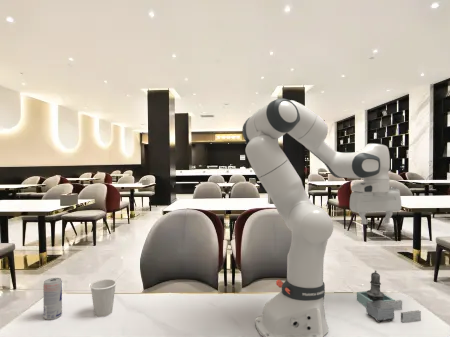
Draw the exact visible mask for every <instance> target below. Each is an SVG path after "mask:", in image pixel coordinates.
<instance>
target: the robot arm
mask: <svg viewBox="0 0 450 337" xmlns="http://www.w3.org/2000/svg"><path fill="white" fill-rule="evenodd" d="M328 131H329V126H328V124H327V123H326V121H325V120H324V119H323V118H322V117H321V116H320V115H319V114H317V113H316V112H314V111H313V110H312V109H310V108H309V107H308V106H305V105H304V104H302V103H300V102H297V101H296V100H292V99H291V100H290V99H287V98H277V99H274V100H272V101H271V102H269V103H268V104H266V105H264V106H263V107H261V108H260V109H258V110H257V111H255V112H254V113H253V114H252V115H251V116H250V117H248V118H247V119H246V120H245V122H244V123H243V125H242V136H243V139H244V141H245V144H246V147H245V155H246V158H247V159H248V162H249V164H250V166H251V168H252V171H253V172H254V173H255V175H256V177H257V178H258V180H259V182H260V183H261V186H262V187H263V188H264V190H265V192H266V193H267V194H268V196H269V198H270V199H271V201H272V203H273V205H274V207H275V209H276V212H278V215H279V216H280V218H281V219H282V221H283V223H284V224H285V226H286V228H288V230H289V231H291V232H290V233H291V239H290V240H291V241H290V246H289V251H288V253H287V256H286V257H287V258H286V260H287V261H286V267H287V268H286V271H287V272H286V279H285V281H284V282H283V281H282V280H281V279H277V280H276V283H275V285H276V286H277V287H278V288H281V291H280V292H279V293H278V294H276V295H275V296H274V297H273V298H271V299H269V300H268V302H266V303H265V304H264V306H263V311H262V315H260V316H257V317H256V319H255V321H254V322H255V325H254V326H255V327H256V330H257V331H258V333H259V334H260V336H262V337H324V336H326V335H327V334H328V332H329V326H328V322H327V318H326V311H325V295H326V290H325V286H326V285H325V282H324V264H325V263H324V261H325V254H326V250H327V244H328V241H329V239H330V238H331V237H332V235H333V231H334V222H333V219H332V218H331V217H330V215H329V213H327V211H326V210H325V209H324V208H322V207H320V206H318V205H315V204H314V203H313V202H312V201H311V200H310V198H309V197H308V194H307V191H306V189H305V187H304V185H303V181H302V178H301V177H300V176H299V174H298V173H297V171H296V169H295V167H294V166H293V165H292V163H291V162H290V159H289V158H288V157H287V155H286V153H285V152H284V151H283V149H282V148H281V146H280V143H279V138H281V137H283V136H285V135H286V134H287V135H289V136H290V137H291V138H293V139H295V141H297V142H298V143H300V144H301V145H303V146H304V147H305V149H307V150H308V151H309V152H310V153H311V154H312V155H313V156H314V157H316V158H317V159H318V160H319V161H321V162H322V163H323V164H324V166H326V168H327V170H328V172H329V173H330V174H331V175H332V176H333V177H334V178H338V179H343V178H344V179H346V178H348V179H363V181H360V182H359V183H356V184H352V186H351V187H350V188H351V191H352V192H351V194H350V195H349V196H350V197H349V210H350V211H351V212H352V213H353V212H354V213H358V215H359V217H360V220H361V224H362V225H367V224H368V223H369V219H368V218H366V214H367V213H379V212H385V217H383V218H382V223H384V224H390V223H391V222H390V219H391V217H392V216H393V212H401V210H402V199H401V190H400V189H399V188H398V187H397V186H390V174H389V171H390V168H391V167H390V165H391V164H390V163H391V160H390V158H391V157H390V151H389V148H388V146H387V145H385V144H382V143H375V142H374V143H373V142H370V143H367V144H366V145H365V146H364V147H363V148H361V149H360V150H356V151H355V152H354V151H353V152H340V151H336V150H335V149H333V148H332V147H331V146H330V145H329V144H328V143H327V142H326V141H325V140H326V138H327V135H328V133H329V132H328ZM368 225H369V224H368Z"/></svg>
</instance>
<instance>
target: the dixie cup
mask: <svg viewBox="0 0 450 337" xmlns="http://www.w3.org/2000/svg"><path fill="white" fill-rule="evenodd" d="M89 285H90V286H89V287H90V290H91V292H90V293H91V299H92V306H93V312H94V313H93V314H94V316H95V317H96V318H97V317H98V318H103V317H107V316H109V315H111V314H112V313H113V308H114V303H115V302H114V299H115V294H116V293H115V292H116V285H117V281H116V280H114V279H100V280H96V281H94V282H92V283H91V284H89Z"/></svg>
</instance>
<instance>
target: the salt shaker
mask: <svg viewBox="0 0 450 337" xmlns="http://www.w3.org/2000/svg"><path fill="white" fill-rule="evenodd" d="M370 277H371V278H370V281H369V283H370V289H369V290H366V291H367V295H368V298H369V299H370V300H372V301H379V300H382V299H383V296H384V294H385V293H384V292H382V291H381V285H382V283H381V275H380V274H379V273H378V272H377V270H374V272H372V273H371V275H370Z"/></svg>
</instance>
